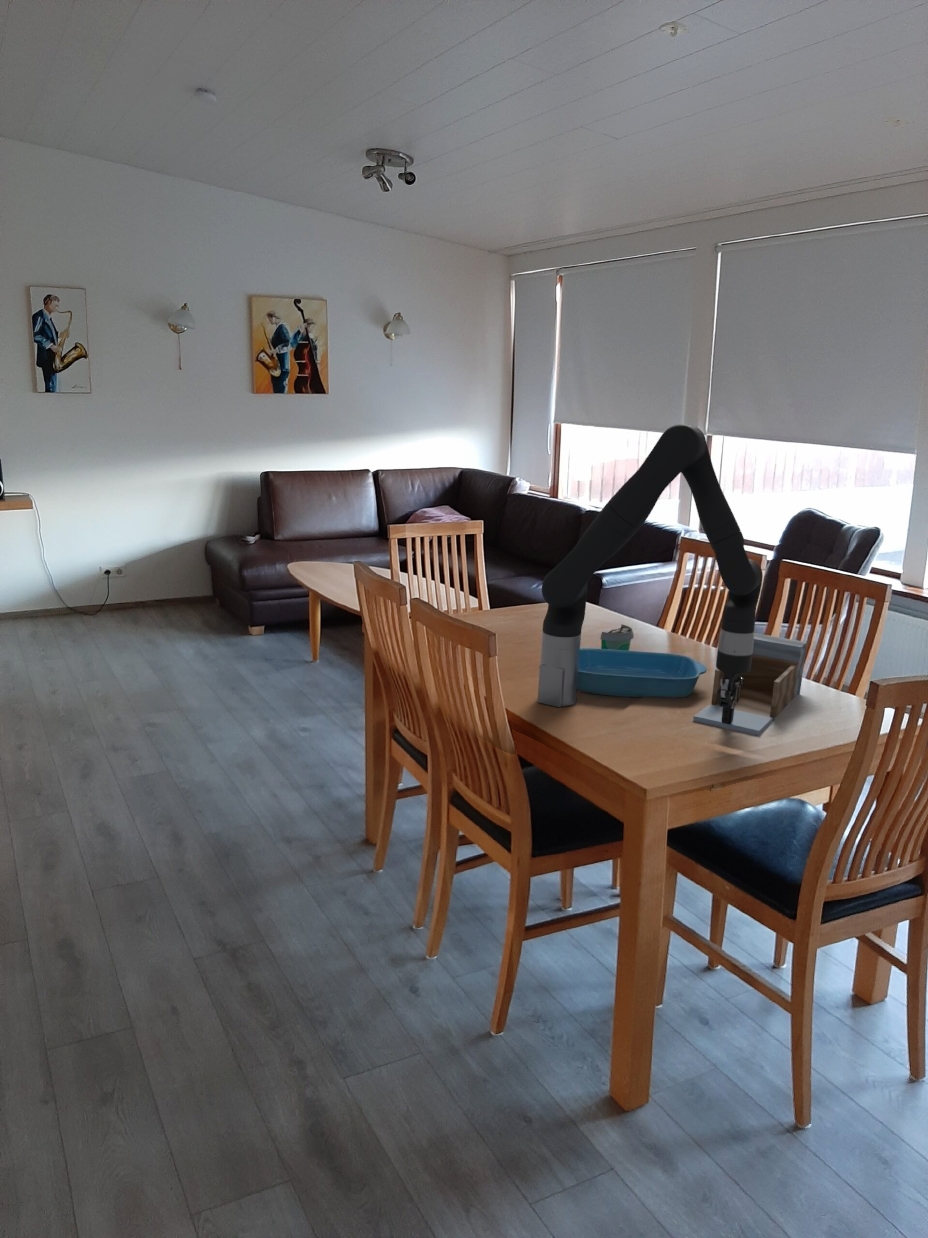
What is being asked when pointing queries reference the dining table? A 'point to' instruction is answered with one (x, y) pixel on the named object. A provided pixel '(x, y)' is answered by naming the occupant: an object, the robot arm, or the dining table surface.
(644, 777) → the dining table surface
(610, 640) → the food container
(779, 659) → the box
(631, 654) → the casserole dish
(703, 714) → the panel
